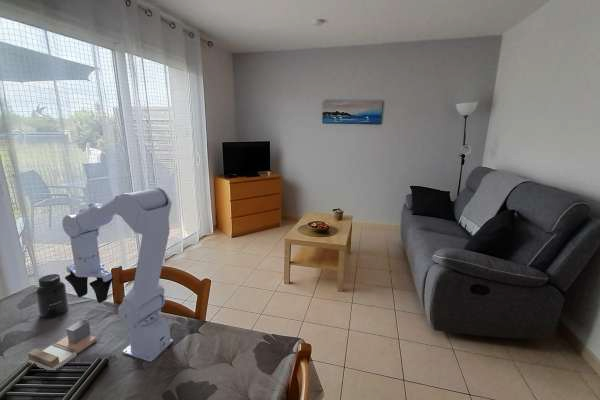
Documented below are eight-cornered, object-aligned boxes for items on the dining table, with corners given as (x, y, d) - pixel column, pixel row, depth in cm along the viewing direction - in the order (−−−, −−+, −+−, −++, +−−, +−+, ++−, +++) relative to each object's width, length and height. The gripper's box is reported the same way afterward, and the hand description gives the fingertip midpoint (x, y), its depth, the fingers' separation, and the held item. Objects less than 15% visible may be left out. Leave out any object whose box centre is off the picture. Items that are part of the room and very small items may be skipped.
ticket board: (76, 355, 71) (75, 345, 70) (52, 372, 66) (50, 361, 65) (54, 347, 73) (52, 338, 72) (29, 363, 68) (27, 353, 67)
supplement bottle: (55, 319, 83) (49, 284, 81) (33, 318, 83) (26, 282, 81) (74, 306, 90) (69, 272, 87) (53, 304, 90) (47, 271, 87)
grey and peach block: (97, 339, 76) (95, 323, 75) (77, 353, 71) (74, 337, 70) (77, 332, 78) (75, 317, 77) (56, 346, 73) (53, 330, 72)
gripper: (119, 253, 78) (124, 295, 81) (82, 245, 82) (88, 286, 85) (95, 263, 71) (101, 309, 74) (55, 254, 75) (63, 298, 78)
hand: (92, 298), depth 79 cm, fingers open, 7 cm apart
